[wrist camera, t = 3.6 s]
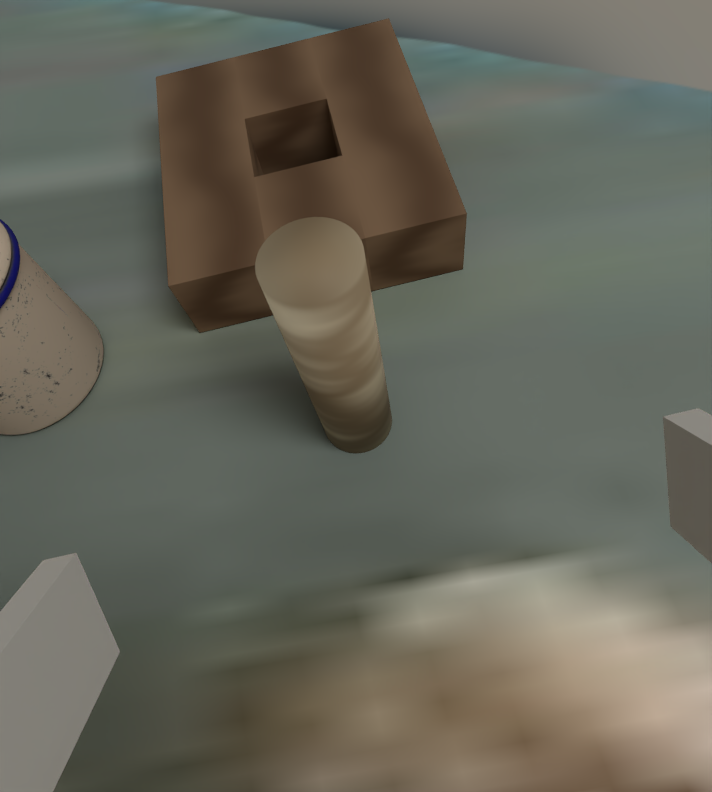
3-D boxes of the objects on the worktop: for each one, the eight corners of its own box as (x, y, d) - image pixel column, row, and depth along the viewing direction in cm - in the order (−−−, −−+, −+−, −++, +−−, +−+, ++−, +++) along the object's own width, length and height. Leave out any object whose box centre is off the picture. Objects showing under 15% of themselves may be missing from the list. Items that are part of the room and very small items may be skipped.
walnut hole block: (199, 332, 34) (168, 286, 30) (182, 134, 42) (155, 77, 38) (462, 269, 33) (466, 213, 29) (393, 81, 42) (388, 18, 38)
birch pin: (330, 460, 29) (262, 316, 18) (318, 399, 31) (249, 231, 19) (398, 444, 29) (375, 289, 18) (383, 383, 31) (352, 206, 19)
